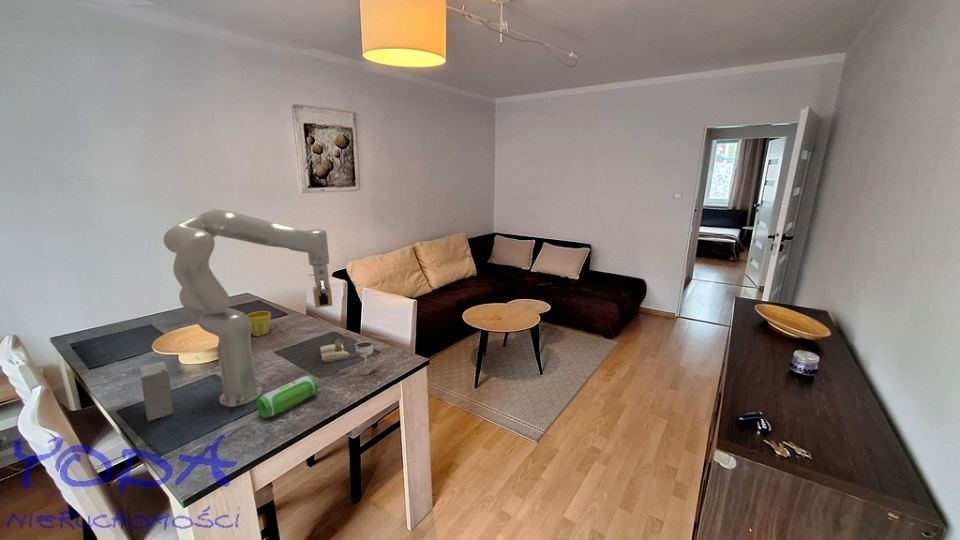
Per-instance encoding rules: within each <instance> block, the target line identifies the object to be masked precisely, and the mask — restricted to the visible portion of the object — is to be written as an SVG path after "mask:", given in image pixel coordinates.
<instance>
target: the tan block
mask: <svg viewBox="0 0 960 540" xmlns="http://www.w3.org/2000/svg"><path fill="white" fill-rule="evenodd" d="M320 288H321V287H320ZM320 291H321V290H320ZM326 291H327V296H328V304H327V305H320V302H319V296H320V295H319V289H317V287H316V286H313V287H312V292H313V301H314V306H315V309H317V308H318V309H319V308H326V307H331V306H333V299H332V298H333V297H332V296H333V295H332V288H331V287H330V288H327V287H326Z"/></svg>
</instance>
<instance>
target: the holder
mask: <svg viewBox="0 0 960 540" xmlns="http://www.w3.org/2000/svg"><path fill="white" fill-rule="evenodd" d="M341 343H342V344H341ZM343 343H344V342H342V341H341V339H340V338H338V339H335V340H334V344H325V345H321V346H319V349H320V350H321V351H320V355H321V356H322V357H321V362H322V361H326V360H332V359H336V358H340V357H345V356H349V355H350V354H349V353H348V352H347V351H346V352H345V351H344V349H345V348H344V346H343ZM343 348H344V349H343Z"/></svg>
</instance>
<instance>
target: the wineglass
mask: <svg viewBox="0 0 960 540" xmlns="http://www.w3.org/2000/svg"><path fill="white" fill-rule="evenodd" d="M354 345H355V348H356V353H357V354H358V357H360V358H363V361H364V369H367V357H369V356H370V355H372V353H374V342H373V341H372V340H368V339H366V340H365V339H364V340H359V341H357V342H356V343H354Z"/></svg>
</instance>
